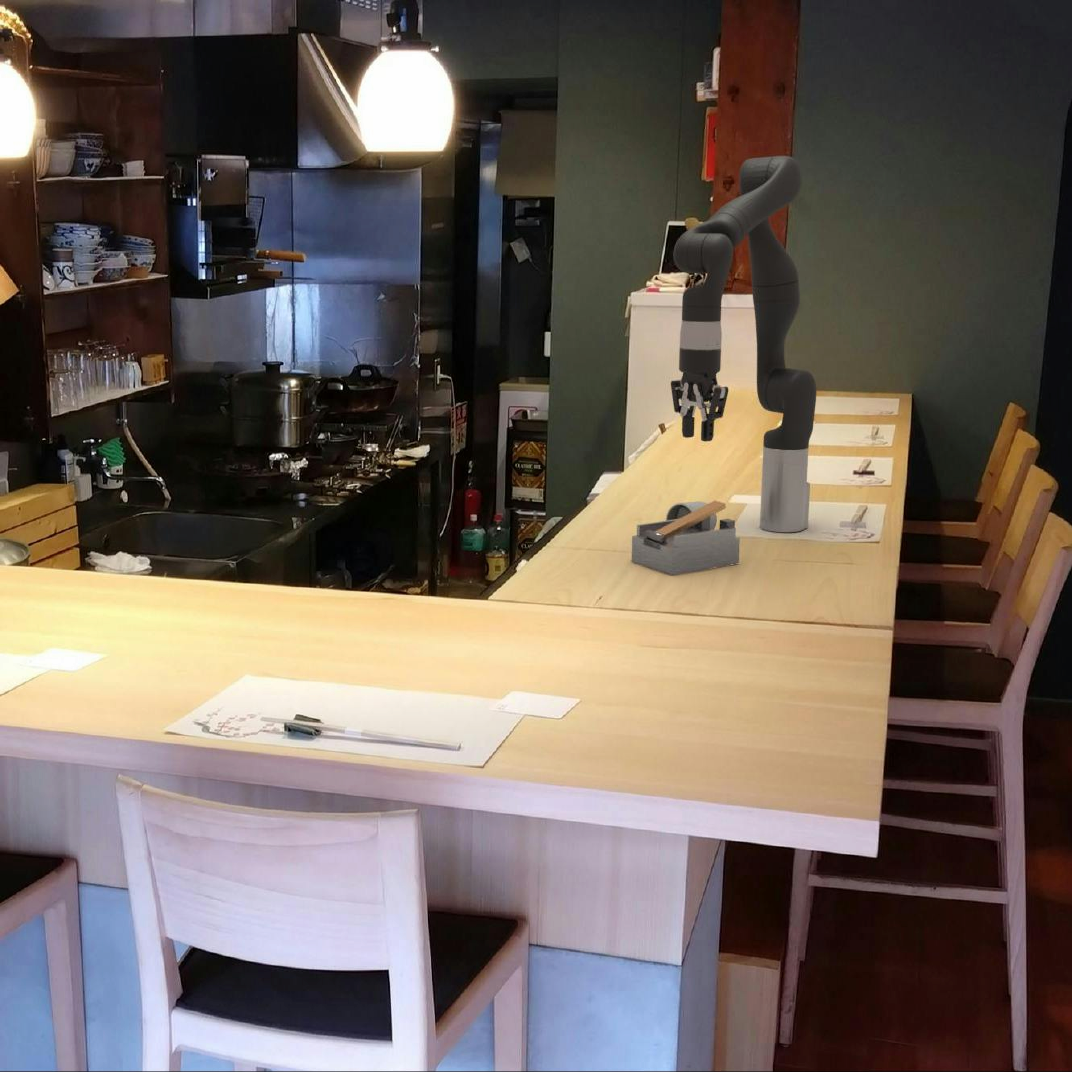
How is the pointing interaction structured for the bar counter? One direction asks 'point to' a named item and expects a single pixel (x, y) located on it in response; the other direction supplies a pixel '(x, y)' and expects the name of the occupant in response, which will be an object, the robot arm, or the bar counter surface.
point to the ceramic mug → (688, 511)
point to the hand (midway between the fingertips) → (697, 438)
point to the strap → (685, 522)
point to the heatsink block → (687, 547)
